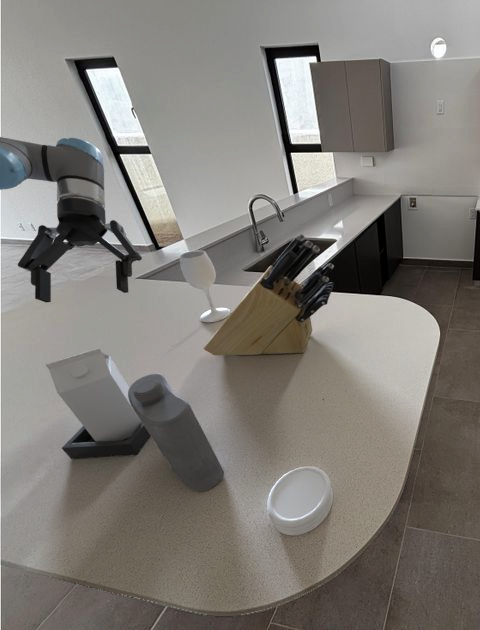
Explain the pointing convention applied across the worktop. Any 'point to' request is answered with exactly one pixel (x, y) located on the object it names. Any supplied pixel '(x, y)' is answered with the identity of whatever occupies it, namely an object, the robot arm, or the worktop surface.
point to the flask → (175, 432)
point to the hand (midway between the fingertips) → (84, 295)
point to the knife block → (276, 308)
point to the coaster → (300, 500)
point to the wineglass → (202, 280)
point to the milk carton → (95, 394)
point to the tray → (105, 445)
